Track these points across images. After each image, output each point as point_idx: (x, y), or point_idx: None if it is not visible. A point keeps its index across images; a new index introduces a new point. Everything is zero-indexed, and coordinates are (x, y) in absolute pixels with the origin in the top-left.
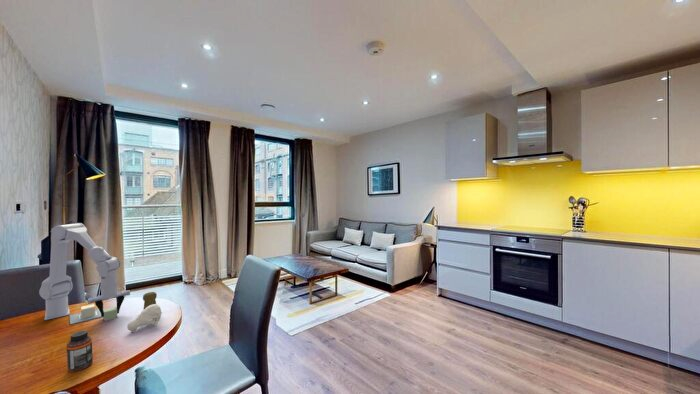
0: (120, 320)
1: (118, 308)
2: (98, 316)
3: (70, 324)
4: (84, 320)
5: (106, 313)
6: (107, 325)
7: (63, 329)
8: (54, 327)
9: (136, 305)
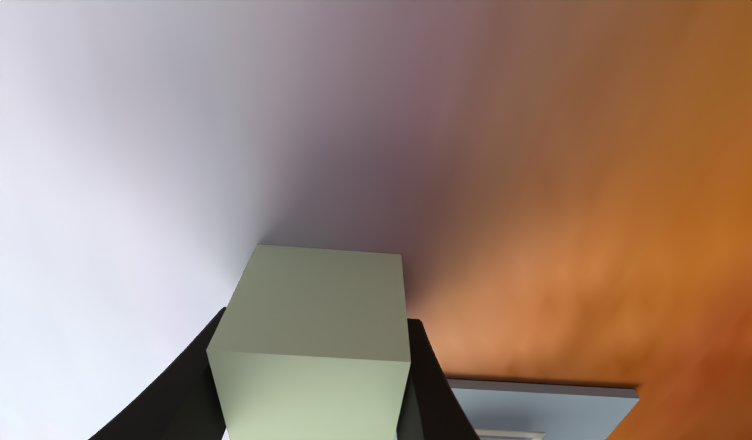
0: (213, 89)
1: (187, 370)
2: None
3: (634, 391)
4: (532, 391)
5: (375, 334)
6: (413, 19)
7: (731, 334)
8: (714, 416)
9: (91, 416)
